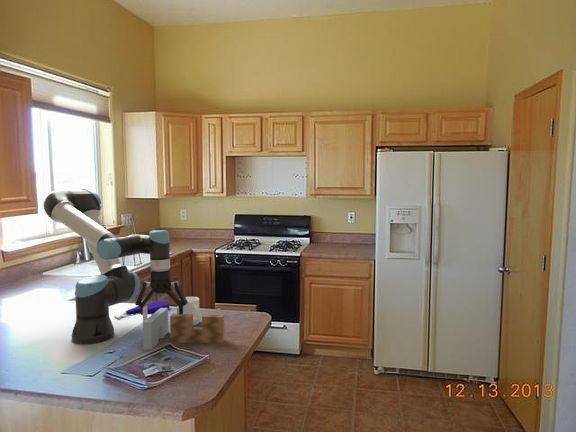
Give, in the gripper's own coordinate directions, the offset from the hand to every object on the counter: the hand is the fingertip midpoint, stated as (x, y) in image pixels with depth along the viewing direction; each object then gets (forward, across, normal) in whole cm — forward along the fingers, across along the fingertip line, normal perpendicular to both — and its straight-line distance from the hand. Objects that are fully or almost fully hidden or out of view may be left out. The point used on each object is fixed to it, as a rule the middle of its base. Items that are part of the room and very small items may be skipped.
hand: (162, 322), depth 165 cm
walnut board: (+6, +16, -5) cm, 17 cm away
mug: (+5, +8, +14) cm, 17 cm away
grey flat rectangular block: (+5, 0, -5) cm, 7 cm away
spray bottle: (+5, -21, +30) cm, 36 cm away
